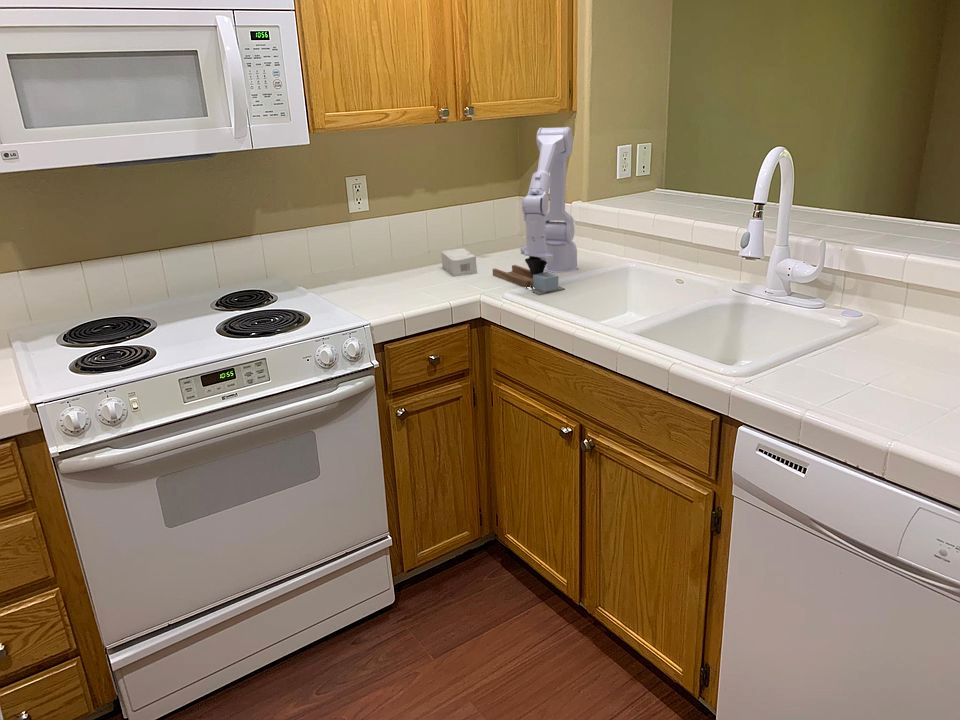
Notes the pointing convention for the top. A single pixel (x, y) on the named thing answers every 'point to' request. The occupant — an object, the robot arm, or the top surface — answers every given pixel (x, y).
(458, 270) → the skincare box
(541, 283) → the block
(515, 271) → the chute
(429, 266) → the top surface
